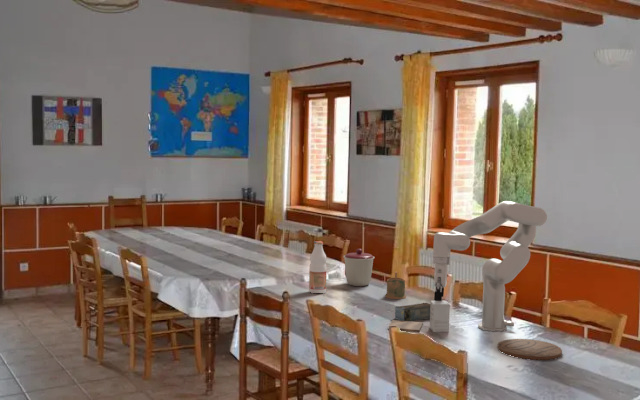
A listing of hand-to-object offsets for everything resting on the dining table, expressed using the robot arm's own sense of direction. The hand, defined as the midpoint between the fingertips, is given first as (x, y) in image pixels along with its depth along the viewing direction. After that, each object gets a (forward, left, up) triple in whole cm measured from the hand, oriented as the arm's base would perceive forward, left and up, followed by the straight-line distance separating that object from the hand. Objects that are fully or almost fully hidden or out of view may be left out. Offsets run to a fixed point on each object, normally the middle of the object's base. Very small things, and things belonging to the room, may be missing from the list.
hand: (438, 298), depth 319 cm
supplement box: (-1, 0, -14) cm, 14 cm away
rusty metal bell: (+28, -65, -14) cm, 73 cm away
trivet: (-39, +21, -15) cm, 46 cm away
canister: (+53, -87, -14) cm, 103 cm away
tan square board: (+14, 0, -14) cm, 20 cm away
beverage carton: (+12, -19, -15) cm, 27 cm away
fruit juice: (+70, -58, -14) cm, 93 cm away
